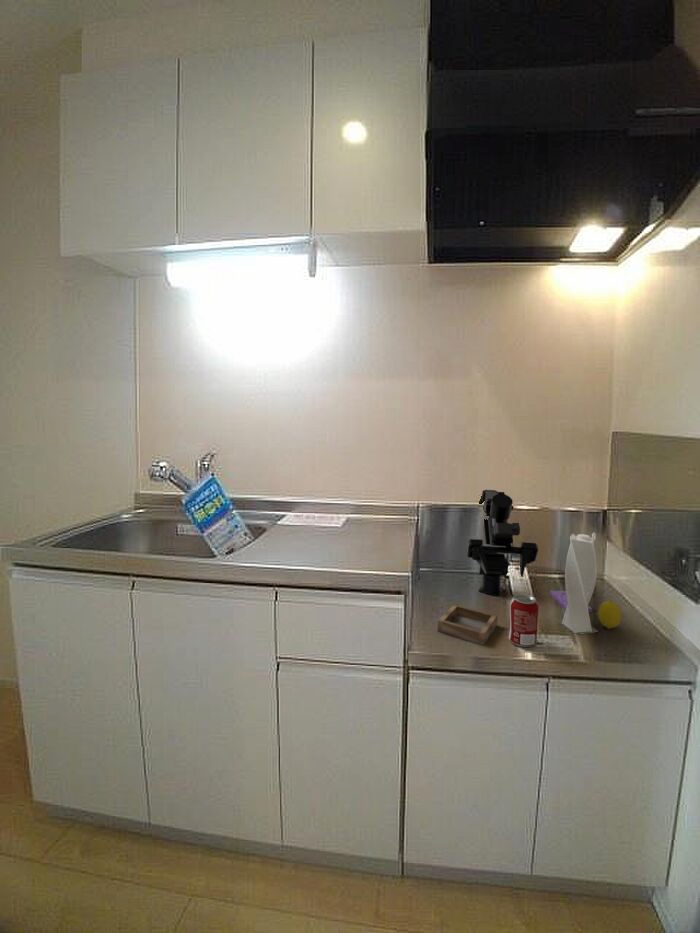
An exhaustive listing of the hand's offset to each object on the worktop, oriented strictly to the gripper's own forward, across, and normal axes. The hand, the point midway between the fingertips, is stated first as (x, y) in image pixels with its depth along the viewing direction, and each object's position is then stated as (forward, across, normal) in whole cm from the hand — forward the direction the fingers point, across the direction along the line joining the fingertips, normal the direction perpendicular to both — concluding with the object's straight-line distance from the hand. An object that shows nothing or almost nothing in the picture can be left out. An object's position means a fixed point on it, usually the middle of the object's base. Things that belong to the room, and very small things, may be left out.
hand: (504, 574), depth 116 cm
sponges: (-8, +23, +24) cm, 35 cm away
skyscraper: (+6, +20, +14) cm, 26 cm away
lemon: (+4, +29, +15) cm, 33 cm away
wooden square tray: (+11, -9, +11) cm, 18 cm away
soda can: (+15, +4, +8) cm, 17 cm away
